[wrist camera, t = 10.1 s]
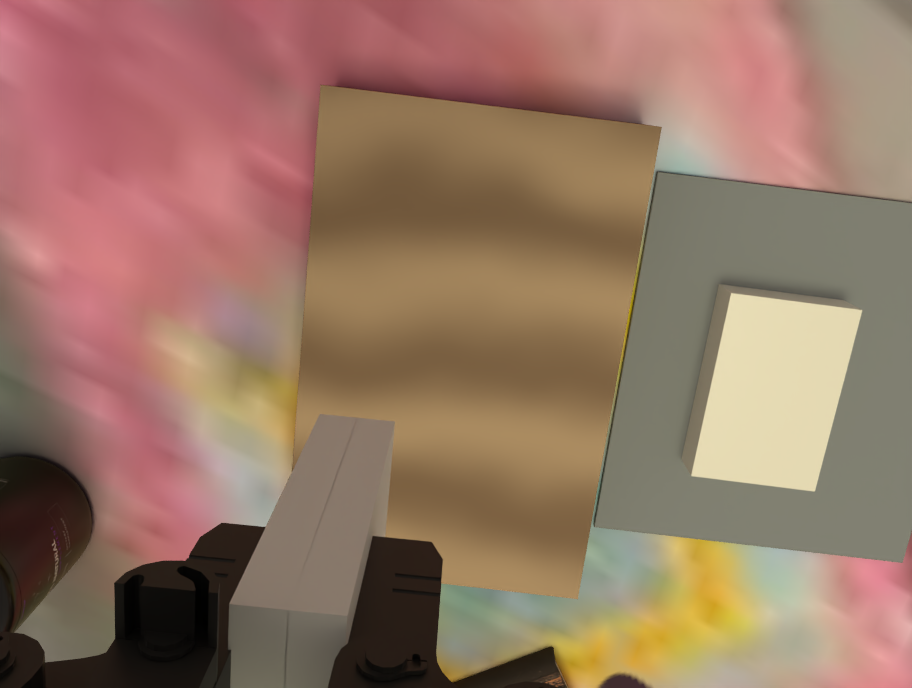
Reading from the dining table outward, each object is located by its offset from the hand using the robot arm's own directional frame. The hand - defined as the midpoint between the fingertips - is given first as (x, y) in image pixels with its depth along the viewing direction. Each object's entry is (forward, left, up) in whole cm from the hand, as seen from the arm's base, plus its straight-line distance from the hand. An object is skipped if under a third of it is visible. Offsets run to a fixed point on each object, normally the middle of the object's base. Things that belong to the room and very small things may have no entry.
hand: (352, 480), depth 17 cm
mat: (+4, +18, -25) cm, 31 cm away
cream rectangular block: (+4, +17, -23) cm, 28 cm away
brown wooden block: (+4, +2, -25) cm, 25 cm away
